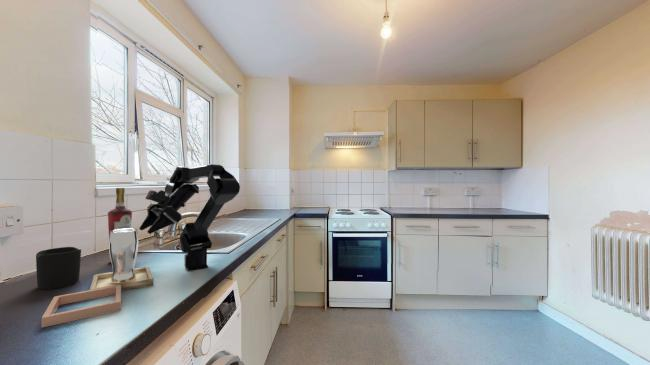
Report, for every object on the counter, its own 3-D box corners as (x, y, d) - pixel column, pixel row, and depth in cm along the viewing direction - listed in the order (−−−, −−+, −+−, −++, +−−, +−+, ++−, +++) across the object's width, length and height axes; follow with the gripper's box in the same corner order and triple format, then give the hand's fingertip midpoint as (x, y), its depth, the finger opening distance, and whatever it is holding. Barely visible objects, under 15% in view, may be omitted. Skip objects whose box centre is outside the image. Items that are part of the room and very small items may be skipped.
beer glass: (113, 286, 75) (114, 233, 75) (104, 281, 79) (105, 230, 79) (141, 279, 81) (142, 229, 81) (132, 274, 84) (132, 227, 85)
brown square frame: (120, 291, 73) (120, 284, 73) (120, 310, 63) (120, 301, 63) (54, 304, 65) (54, 296, 65) (41, 327, 55) (41, 318, 55)
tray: (149, 272, 89) (149, 266, 89) (153, 285, 78) (153, 278, 78) (94, 281, 81) (94, 274, 81) (89, 297, 70) (89, 289, 70)
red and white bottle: (123, 258, 106) (124, 187, 106) (135, 260, 103) (136, 188, 103) (102, 263, 99) (103, 188, 99) (115, 265, 96) (116, 188, 96)
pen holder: (87, 277, 84) (87, 245, 84) (69, 288, 75) (70, 253, 75) (49, 280, 81) (49, 247, 81) (26, 292, 72) (26, 255, 72)
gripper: (153, 182, 101) (117, 213, 93) (171, 182, 88) (131, 218, 80) (176, 202, 107) (143, 233, 98) (195, 204, 94) (160, 240, 86)
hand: (144, 231), depth 91 cm, fingers open, 9 cm apart
